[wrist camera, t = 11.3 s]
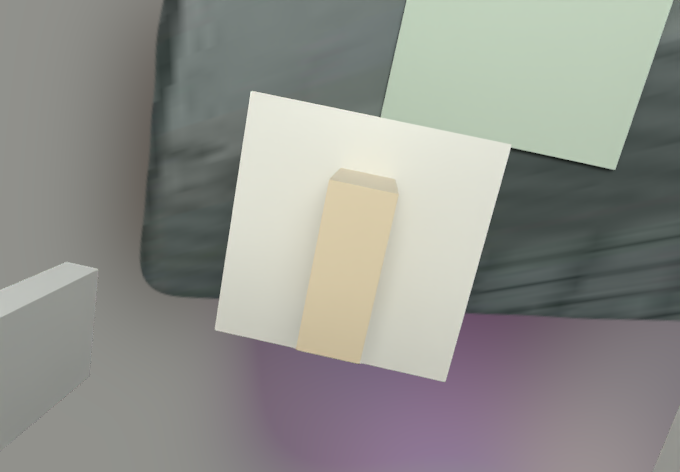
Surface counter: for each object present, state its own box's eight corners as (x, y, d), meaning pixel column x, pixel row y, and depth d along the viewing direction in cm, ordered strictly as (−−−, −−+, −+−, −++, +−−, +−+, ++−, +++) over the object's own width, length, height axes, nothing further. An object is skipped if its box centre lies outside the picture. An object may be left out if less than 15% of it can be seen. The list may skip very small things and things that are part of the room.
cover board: (507, 143, 26) (550, 149, 20) (443, 373, 30) (461, 447, 23) (255, 91, 27) (212, 80, 20) (220, 323, 30) (172, 380, 23)
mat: (700, -93, 29) (706, -97, 29) (611, 169, 33) (615, 170, 33) (439, -145, 30) (439, -149, 29) (380, 119, 34) (380, 119, 33)
